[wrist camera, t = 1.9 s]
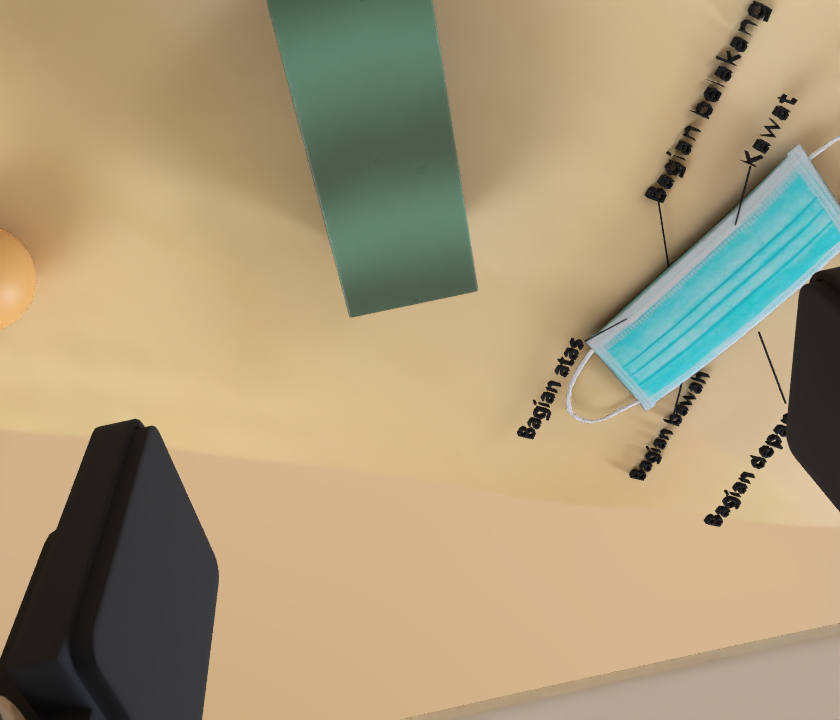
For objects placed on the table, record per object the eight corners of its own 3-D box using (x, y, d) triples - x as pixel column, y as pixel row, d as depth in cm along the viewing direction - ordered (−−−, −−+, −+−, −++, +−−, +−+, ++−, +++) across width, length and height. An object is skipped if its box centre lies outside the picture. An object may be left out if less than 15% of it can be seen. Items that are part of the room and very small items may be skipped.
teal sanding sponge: (268, -50, 26) (257, -31, 21) (405, -79, 26) (422, -66, 21) (346, 256, 31) (349, 318, 27) (457, 233, 31) (478, 292, 27)
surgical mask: (713, 546, 36) (517, 506, 34) (677, 483, 40) (497, 443, 37) (1031, 116, 27) (792, 10, 24) (945, 84, 30) (729, -11, 28)
